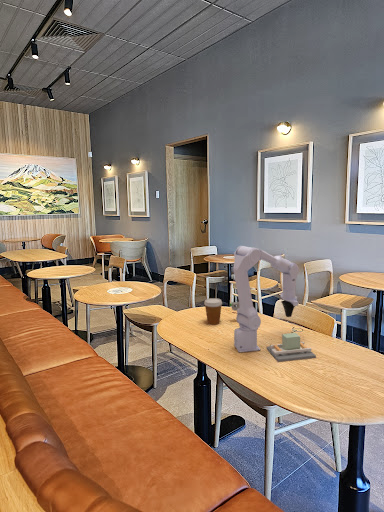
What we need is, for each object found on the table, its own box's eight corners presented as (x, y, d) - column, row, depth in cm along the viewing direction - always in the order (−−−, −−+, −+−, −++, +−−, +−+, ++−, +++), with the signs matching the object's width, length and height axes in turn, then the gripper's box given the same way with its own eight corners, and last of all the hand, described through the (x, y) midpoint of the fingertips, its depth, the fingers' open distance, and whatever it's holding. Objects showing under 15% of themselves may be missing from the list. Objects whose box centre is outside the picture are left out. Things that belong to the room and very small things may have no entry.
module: (286, 351, 136) (286, 337, 135) (282, 347, 140) (282, 334, 139) (300, 350, 137) (300, 336, 136) (295, 346, 140) (295, 332, 139)
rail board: (277, 361, 131) (278, 354, 131) (266, 348, 143) (266, 342, 142) (315, 357, 134) (316, 350, 133) (301, 345, 145) (301, 338, 145)
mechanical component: (250, 321, 175) (249, 303, 174) (230, 322, 176) (230, 303, 174) (249, 319, 178) (249, 301, 177) (229, 320, 178) (229, 302, 177)
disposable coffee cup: (202, 320, 179) (201, 299, 177) (218, 318, 182) (218, 297, 180) (208, 326, 170) (207, 304, 168) (225, 324, 173) (225, 302, 171)
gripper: (305, 291, 146) (304, 321, 148) (290, 283, 160) (289, 310, 162) (289, 292, 145) (289, 322, 147) (276, 284, 159) (275, 311, 161)
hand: (288, 316), depth 154 cm, fingers closed
